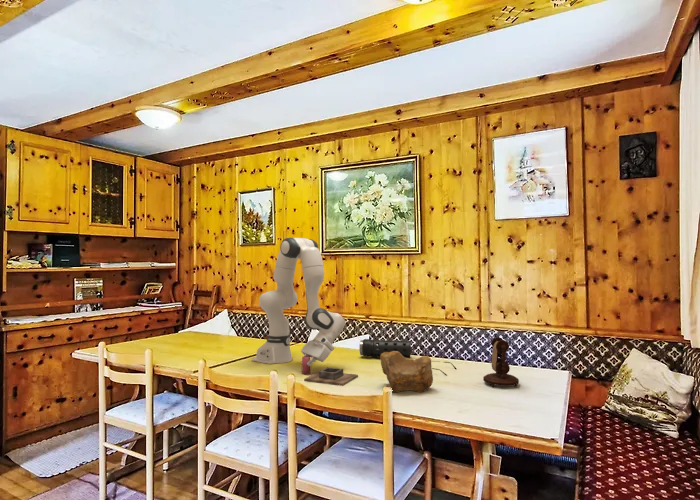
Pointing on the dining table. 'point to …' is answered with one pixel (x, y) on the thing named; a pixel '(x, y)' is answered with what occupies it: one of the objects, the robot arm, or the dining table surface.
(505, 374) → the dark brown ornamental stand
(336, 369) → the candle board
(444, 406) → the dining table surface
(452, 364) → the eyeglasses
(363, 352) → the muzzle brake
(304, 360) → the candle
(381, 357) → the rough brown rock
